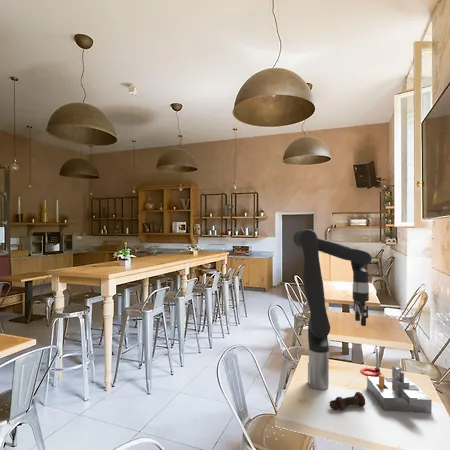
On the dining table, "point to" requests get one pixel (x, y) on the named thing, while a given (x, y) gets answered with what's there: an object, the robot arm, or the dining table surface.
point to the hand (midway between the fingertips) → (360, 323)
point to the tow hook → (376, 370)
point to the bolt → (348, 401)
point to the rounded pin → (381, 382)
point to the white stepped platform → (399, 393)
